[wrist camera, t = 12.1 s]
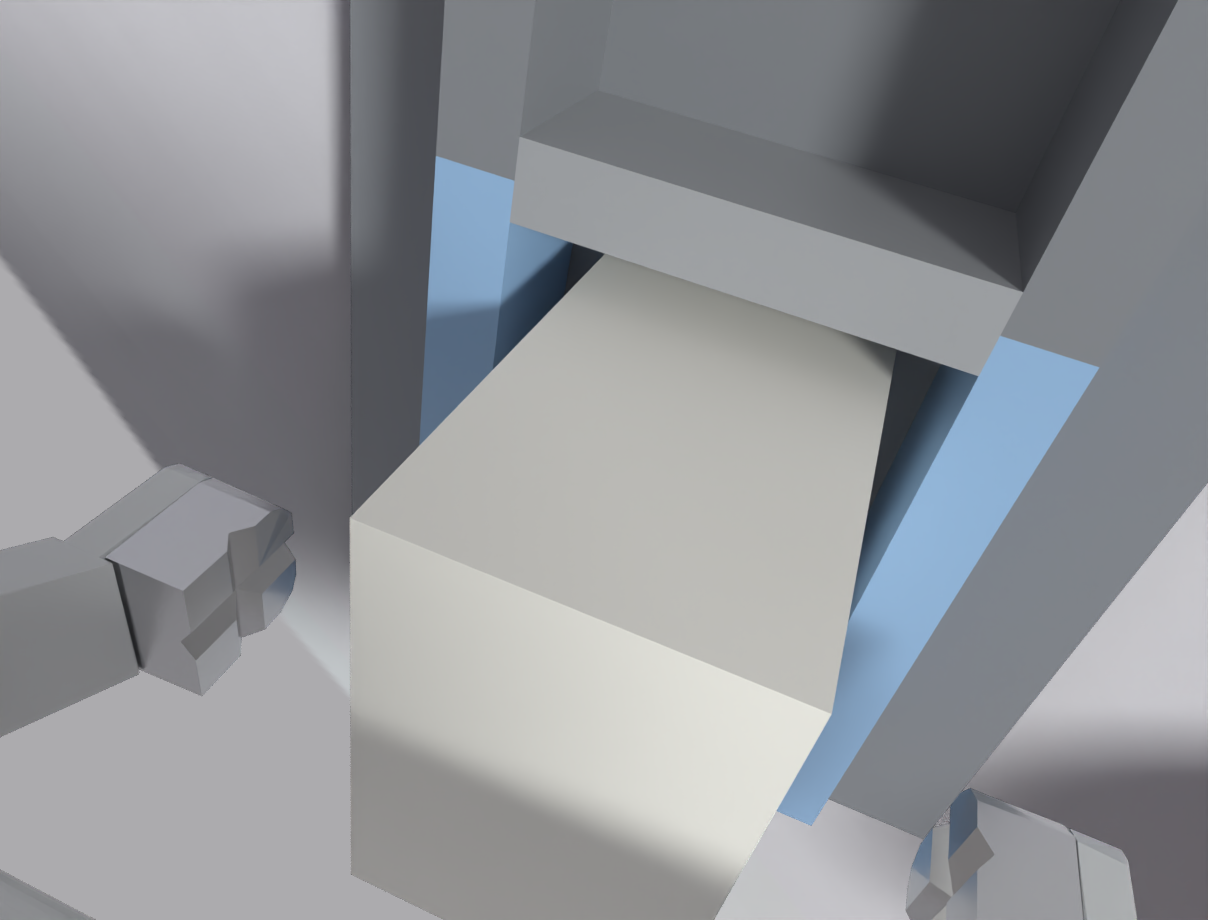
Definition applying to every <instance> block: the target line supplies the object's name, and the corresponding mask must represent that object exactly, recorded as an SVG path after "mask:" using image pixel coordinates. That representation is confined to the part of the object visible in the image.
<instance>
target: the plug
mask: <svg viewBox="0 0 1208 920" xmlns="http://www.w3.org/2000/svg"><path fill="white" fill-rule="evenodd" d="M896 350H897V349H894V348H891V347H888V346H885V345H882V344H879V343H876V342H873V341H870V340H867V339H864V338H861V337H858V336H854V335H851V334H848V333H845V332H842V331H839V330H836V329H833V328H830V327H827V326H824V325H821V324H818V323H815V322H812V321H809V320H806V319H803V318H800V317H797V316H794V315H791V314H787V313H784V312H781V311H778V310H775V309H772V308H769V307H766V306H763V305H760V304H757V303H754V302H751V301H748V300H745V299H742V298H739V297H736V296H733V295H730V294H727V293H723V292H720V291H717V290H714V289H711V288H708V287H705V286H702V285H699V284H696V283H693V282H690V281H687V280H684V279H681V278H678V277H675V276H672V275H669V274H666V273H663V272H660V271H656V270H653V269H650V268H647V267H644V266H641V265H638V264H635V263H632V262H629V261H626V260H623V259H620V258H617V257H614V256H611V255H608V254H604V255H603V256H602V257H601V259H600V260H599V261H598V262H597V263H596V264H595V265H594V266H593V267H592V268H591V269H590V270H589V271H588V272H587V273H586V274H585V275H584V276H583V277H582V278H581V279H580V280H579V281H578V282H577V283H576V284H575V285H574V286H573V287H572V289H571V290H570V291H569V292H568V293H567V294H566V295H565V296H564V297H563V298H562V299H561V300H560V301H559V302H558V303H557V304H556V305H555V306H554V307H553V308H552V309H551V310H550V311H549V312H548V313H547V314H546V315H545V316H544V317H543V319H542V320H541V321H540V322H539V323H538V324H537V325H536V326H535V327H534V328H533V329H532V330H531V331H530V332H529V333H528V334H527V335H526V336H525V337H524V338H523V339H522V340H521V341H520V342H519V343H518V344H517V345H516V346H515V347H514V348H513V350H512V351H511V352H510V353H509V354H508V355H507V356H506V357H505V358H504V359H503V360H502V361H501V362H500V363H499V364H498V365H497V366H496V367H495V368H494V369H493V370H492V371H491V372H490V373H489V374H488V375H487V376H486V377H485V378H484V380H483V381H482V382H481V383H480V384H479V385H478V386H477V387H476V388H475V389H474V390H473V391H472V392H471V393H470V394H469V395H468V396H467V397H466V398H465V399H464V400H463V401H462V402H461V403H460V404H459V405H458V406H457V407H456V408H455V410H454V411H453V412H452V413H451V414H450V415H449V416H448V417H447V418H446V419H445V420H444V421H443V422H442V423H441V424H440V425H439V426H438V427H437V428H436V429H435V430H434V431H433V432H432V433H431V434H430V435H429V436H428V437H427V438H426V439H425V441H424V442H423V443H422V444H421V445H420V446H419V447H418V448H417V449H416V450H415V451H414V452H413V453H412V454H411V455H410V456H409V457H408V458H407V459H406V460H405V461H404V462H403V463H402V464H401V465H400V466H399V467H398V468H397V469H396V471H395V472H394V473H393V474H392V475H391V476H390V477H389V478H388V479H387V480H386V481H385V482H384V483H383V484H382V485H381V486H380V487H379V488H378V489H377V490H376V491H375V492H374V493H373V494H372V495H371V496H370V497H369V498H368V499H367V500H366V502H365V503H364V504H363V505H362V506H361V507H360V508H359V509H358V510H357V511H356V512H355V513H354V514H353V515H352V516H351V517H350V713H351V715H350V716H351V717H350V724H351V725H350V727H351V728H350V731H351V734H350V735H351V875H353V876H355V877H357V878H359V879H361V880H363V881H365V882H367V883H369V884H371V885H373V886H375V887H377V888H380V889H382V890H384V891H386V892H388V893H390V894H392V895H394V896H396V897H398V898H400V899H402V900H404V901H406V902H408V903H410V904H413V905H414V906H417V907H419V908H421V909H423V910H425V911H427V912H429V913H431V914H433V915H435V916H437V917H439V918H441V919H443V920H714V919H715V917H716V915H717V914H718V912H719V910H720V908H721V907H722V905H723V903H724V901H725V900H726V898H727V896H728V894H729V893H730V891H731V889H732V887H733V886H734V884H735V882H736V880H737V879H738V877H739V875H740V873H741V872H742V870H743V868H744V866H745V865H746V863H747V861H748V859H749V858H750V856H751V854H752V852H753V851H754V849H755V847H756V845H757V844H758V842H759V840H760V839H761V837H762V835H763V833H764V832H765V830H766V828H767V826H768V825H769V823H770V821H771V819H772V818H773V816H774V814H775V812H776V811H777V809H778V807H779V805H780V804H781V802H782V800H783V798H784V797H785V795H786V793H787V791H788V790H789V788H790V786H791V784H792V783H793V781H794V779H795V777H796V776H797V774H798V772H799V770H800V769H801V767H802V765H803V763H804V762H805V760H806V758H807V756H808V755H809V753H810V751H811V750H812V748H813V746H814V744H815V743H816V741H817V739H818V737H819V736H820V734H821V732H822V730H823V729H824V727H825V725H826V723H827V722H828V720H829V718H830V716H831V715H832V710H833V704H834V699H835V693H836V687H837V682H838V676H839V671H840V665H841V659H842V654H843V648H844V642H845V637H846V631H847V626H848V620H849V614H850V609H851V603H852V598H853V592H854V586H855V581H856V575H857V569H858V564H859V558H860V553H861V547H862V541H863V536H864V530H865V524H866V519H867V513H868V508H869V502H870V496H871V491H872V485H873V479H874V474H875V468H876V463H877V457H878V451H879V446H880V440H881V434H882V429H883V423H884V418H885V412H886V406H887V401H888V395H889V390H890V384H891V378H892V373H893V367H894V361H895V356H896Z"/></svg>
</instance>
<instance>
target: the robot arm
mask: <svg viewBox="0 0 1208 920" xmlns="http://www.w3.org/2000/svg"><path fill="white" fill-rule="evenodd" d="M293 533H294V530H293V521H292V513H291V512H289V511H287V510H285V509H283V508H281V507H279V506H277V505H274V504H272V503H270V502H268V501H265V500H263V499H261V498H258V497H256V496H254V495H252V494H249V493H247V492H245V491H243V490H240V489H238V488H236V487H234V486H231V485H229V484H227V483H225V482H222V481H220V480H218V479H216V478H213V477H210V476H208V475H206V474H203V473H201V472H199V471H196V470H194V469H192V468H189V467H187V466H185V465H182V464H176V465H172V466H168V467H165V468H163V469H161V470H160V471H159V472H157V473H156V474H155V475H153V476H152V477H151V478H149V479H148V480H146V481H145V482H144V483H142V484H141V485H140V486H138V487H137V488H135V489H134V490H133V491H131V492H130V493H129V494H127V495H126V496H125V497H123V498H122V499H121V500H119V501H118V502H116V503H115V504H114V505H112V506H111V507H110V508H108V509H107V510H106V511H104V512H103V513H101V514H100V515H99V516H97V517H96V518H95V519H93V520H92V521H91V522H89V523H88V524H86V525H85V526H84V527H82V528H81V529H80V530H78V531H77V532H75V533H74V534H73V535H71V536H70V537H69V538H67V539H66V540H64V541H62V540H59V539H57V538H54V537H51V538H47V539H43V540H39V541H35V542H31V543H27V544H23V545H19V546H15V547H11V548H7V549H3V550H0V737H2V736H4V735H6V734H8V733H11V732H12V731H15V730H17V729H19V728H22V727H24V726H26V725H28V724H30V723H32V722H35V721H37V720H39V719H41V718H44V717H46V716H48V715H50V714H52V713H55V712H57V711H59V710H61V709H64V708H66V707H68V706H70V705H72V704H75V703H77V702H79V701H81V700H83V699H86V698H88V697H90V696H92V695H95V694H97V693H99V692H101V691H103V690H106V689H108V688H110V687H112V686H114V685H117V684H119V683H121V682H123V681H125V680H127V679H130V678H132V677H134V676H137V675H138V674H139V673H140V672H139V670H142V671H144V672H146V673H149V674H151V675H153V676H156V677H158V678H160V679H163V680H165V681H167V682H170V683H172V684H174V685H177V686H179V687H182V688H184V689H186V690H189V691H191V692H194V693H196V694H198V695H201V696H203V695H204V694H205V693H206V691H208V690H209V689H210V687H211V686H212V685H213V684H214V683H215V682H216V681H217V680H218V679H219V678H220V677H221V676H222V675H223V674H224V673H225V672H226V670H228V668H229V667H230V666H231V665H232V664H233V663H234V662H235V661H236V660H237V659H238V658H239V657H240V656H241V643H242V637H245V636H247V635H251V634H253V633H256V632H259V631H262V630H265V629H266V628H267V627H268V626H269V625H270V623H271V622H272V621H273V620H274V619H275V618H276V617H277V616H278V615H279V613H280V612H281V611H282V609H283V607H284V605H285V603H286V601H287V600H288V598H289V596H290V594H291V592H292V590H293V585H294V581H295V576H296V560H295V558H294V556H293V555H292V553H291V552H290V550H289V549H288V547H287V546H286V544H285V543H284V542H285V541H286V540H287V539H288V538H289V537H290V536H291V535H292V534H293ZM906 912H907V914H908V916H909V919H910V920H1137V915H1136V909H1135V902H1134V896H1133V889H1132V883H1131V876H1130V870H1129V863H1128V860H1127V858H1126V857H1125V855H1124V853H1123V852H1122V850H1121V849H1119V848H1116V847H1114V846H1111V845H1109V844H1107V843H1104V842H1102V841H1099V840H1097V839H1094V838H1092V837H1089V836H1087V835H1085V834H1082V833H1080V832H1077V831H1075V830H1072V829H1069V828H1066V827H1065V826H1064V825H1062V824H1060V823H1057V822H1055V821H1052V820H1050V819H1047V818H1045V817H1042V816H1040V815H1037V814H1034V813H1032V812H1029V811H1027V810H1024V809H1022V808H1019V807H1017V806H1014V805H1012V804H1009V803H1007V802H1004V801H1002V800H999V799H997V798H994V797H991V796H989V795H986V794H984V793H981V792H979V791H976V790H974V789H971V788H970V789H968V790H965V791H963V792H961V793H960V794H959V796H958V797H957V798H956V799H955V800H954V802H953V803H952V804H951V807H950V823H949V824H945V825H940V826H936V827H933V828H932V829H931V831H930V832H929V833H928V835H927V836H926V837H925V839H924V840H923V842H922V843H921V845H920V847H919V850H918V852H917V855H916V857H915V860H914V862H913V865H912V868H911V873H910V878H909V883H908V888H907V899H906ZM0 920H95V919H93V918H92V917H89V916H88V915H86V914H84V913H82V912H80V911H78V910H76V909H74V908H73V907H71V906H69V905H67V904H65V903H63V902H61V901H59V900H57V899H55V898H54V897H52V896H50V895H48V894H46V893H44V892H42V891H40V890H38V889H36V888H34V887H33V886H31V885H29V884H27V883H25V882H23V881H21V880H19V879H17V878H15V877H14V876H12V875H10V874H8V873H6V872H4V871H2V870H0Z"/></svg>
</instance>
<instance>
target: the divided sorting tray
mask: <svg viewBox="0 0 1208 920" xmlns="http://www.w3.org/2000/svg"><path fill="white" fill-rule="evenodd" d="M350 115H351V395H352V515H353V514H354V513H355V512H356V511H357V510H358V509H359V508H360V507H361V506H362V505H363V504H364V503H365V502H366V500H367V499H368V498H369V497H370V496H371V495H372V494H373V493H374V492H375V491H376V490H377V489H378V488H379V487H380V486H381V485H382V484H383V483H384V482H385V481H386V480H387V479H388V478H389V477H390V476H391V475H392V474H393V473H394V472H395V471H396V469H397V468H398V467H399V466H400V465H401V464H402V463H403V462H404V461H405V460H406V459H407V458H408V457H409V456H410V455H411V454H412V453H413V452H414V451H415V450H416V449H417V448H418V447H419V446H420V445H421V444H422V443H423V442H424V441H425V439H426V438H427V437H428V436H429V435H430V434H431V433H432V432H433V431H434V430H435V429H436V428H437V427H438V426H439V425H440V424H441V423H442V422H443V421H444V420H445V419H446V418H447V417H448V416H449V415H450V414H451V413H452V412H453V411H454V410H455V408H456V407H457V406H458V405H459V404H460V403H461V402H462V401H463V400H464V399H465V398H466V397H467V396H468V395H469V394H470V393H471V392H472V391H473V390H474V389H475V388H476V387H477V386H478V385H479V384H480V383H481V382H482V381H483V380H484V378H485V377H486V376H487V375H488V374H489V373H490V372H491V371H492V370H493V369H494V368H495V367H496V366H497V365H498V364H499V363H500V362H501V361H502V360H503V359H504V358H505V357H506V356H507V355H508V354H509V353H510V352H511V351H512V350H513V348H514V347H515V346H516V345H517V344H518V343H519V342H520V341H521V340H522V339H523V338H524V337H525V336H526V335H527V334H528V333H529V332H530V331H531V330H532V329H533V328H534V327H535V326H536V325H537V324H538V323H539V322H540V321H541V320H542V319H543V317H544V316H545V315H546V314H547V313H548V312H549V311H550V310H551V309H552V308H553V307H554V306H555V305H556V304H557V303H558V302H559V301H560V300H561V299H562V298H563V297H564V296H565V295H566V294H567V293H568V292H569V291H570V290H571V289H572V287H573V286H574V285H575V284H576V283H577V282H578V281H579V280H580V279H581V278H582V277H583V276H584V275H585V274H586V273H587V272H588V271H589V270H590V269H591V268H592V267H593V266H594V265H595V264H596V263H597V262H598V261H599V260H600V259H601V257H602V256H603V255H604V254H608V255H611V256H614V257H617V258H620V259H623V260H626V261H629V262H632V263H635V264H638V265H641V266H644V267H647V268H650V269H653V270H656V271H660V272H663V273H666V274H669V275H672V276H675V277H678V278H681V279H684V280H687V281H690V282H693V283H696V284H699V285H702V286H705V287H708V288H711V289H714V290H717V291H720V292H723V293H727V294H730V295H733V296H736V297H739V298H742V299H745V300H748V301H751V302H754V303H757V304H760V305H763V306H766V307H769V308H772V309H775V310H778V311H781V312H784V313H787V314H791V315H794V316H797V317H800V318H803V319H806V320H809V321H812V322H815V323H818V324H821V325H824V326H827V327H830V328H833V329H836V330H839V331H842V332H845V333H848V334H851V335H854V336H858V337H861V338H864V339H867V340H870V341H873V342H876V343H879V344H882V345H885V346H888V347H891V348H894V349H897V350H896V356H895V361H894V367H893V373H892V378H891V384H890V390H889V395H888V401H887V406H886V412H885V418H884V423H883V429H882V434H881V440H880V446H879V451H878V457H877V463H876V468H875V474H874V479H873V485H872V491H871V496H870V502H869V508H868V513H867V519H866V524H865V530H864V536H863V541H862V547H861V553H860V558H859V564H858V569H857V575H856V581H855V586H854V592H853V598H852V603H851V609H850V614H849V620H848V626H847V631H846V637H845V642H844V648H843V654H842V659H841V665H840V671H839V676H838V682H837V687H836V693H835V699H834V704H833V710H832V715H831V716H830V718H829V720H828V722H827V723H826V725H825V727H824V729H823V730H822V732H821V734H820V736H819V737H818V739H817V741H816V743H815V744H814V746H813V748H812V750H811V751H810V753H809V755H808V756H807V758H806V760H805V762H804V763H803V765H802V767H801V769H800V770H799V772H798V774H797V776H796V777H795V779H794V781H793V783H792V784H791V786H790V788H789V790H788V791H787V793H786V795H785V797H784V798H783V800H782V802H781V804H780V805H779V807H778V809H777V811H778V812H780V813H783V814H785V815H787V816H790V817H792V818H794V819H797V820H799V821H801V822H804V823H806V824H808V825H811V826H812V824H813V822H814V821H815V819H816V818H817V816H818V814H819V813H820V811H821V810H822V808H823V806H824V805H825V803H826V802H827V800H828V799H830V800H832V801H834V802H837V803H839V804H841V805H844V806H846V807H848V808H851V809H853V810H856V811H858V812H860V813H863V814H865V815H867V816H870V817H872V818H874V819H877V820H879V821H882V822H884V823H886V824H889V825H891V826H893V827H896V828H898V829H900V830H903V831H905V832H908V833H910V834H912V835H915V836H917V837H919V838H922V839H924V838H925V836H926V835H927V834H928V833H929V831H930V830H931V829H932V828H933V826H934V825H935V824H936V823H937V821H938V820H939V819H940V818H941V816H942V815H943V814H944V813H945V811H946V810H947V809H948V808H949V806H950V805H951V804H952V803H953V801H954V800H955V799H956V798H957V796H958V795H959V794H960V793H961V791H962V790H963V789H964V788H965V786H966V785H967V784H968V783H969V781H970V780H971V779H972V778H973V776H974V775H975V774H976V773H977V771H978V770H979V769H980V768H981V766H982V765H983V764H984V763H985V761H986V760H987V759H988V758H989V756H990V755H991V754H992V753H993V751H994V750H995V749H996V748H997V746H998V745H999V744H1000V743H1001V741H1002V740H1003V739H1004V737H1005V736H1006V735H1007V734H1008V732H1009V731H1010V730H1011V729H1012V727H1013V726H1014V725H1015V724H1016V722H1017V721H1018V720H1019V719H1020V717H1021V716H1022V715H1023V714H1024V712H1025V711H1026V710H1027V709H1028V707H1029V706H1030V705H1031V704H1032V702H1033V701H1034V700H1035V699H1036V697H1037V696H1038V695H1039V694H1040V692H1041V691H1042V690H1043V689H1044V687H1045V686H1046V685H1047V684H1048V682H1049V681H1050V680H1051V679H1052V677H1053V676H1054V675H1055V674H1056V672H1057V671H1058V670H1059V669H1060V667H1061V666H1062V665H1063V664H1064V662H1065V661H1066V660H1067V659H1068V657H1069V656H1070V655H1071V654H1072V652H1073V651H1074V650H1075V649H1076V647H1077V646H1078V645H1079V644H1080V642H1081V641H1082V640H1083V638H1084V637H1085V636H1086V635H1087V633H1088V632H1089V631H1090V630H1091V628H1092V627H1093V626H1094V625H1095V623H1096V622H1097V621H1098V620H1099V618H1100V617H1101V616H1102V615H1103V613H1104V612H1105V611H1106V610H1107V608H1108V607H1109V606H1110V605H1111V603H1112V602H1113V601H1114V600H1115V598H1116V597H1117V596H1118V595H1119V593H1120V592H1121V591H1122V590H1123V588H1124V587H1125V586H1126V585H1127V583H1128V582H1129V581H1130V580H1131V578H1132V577H1133V576H1134V575H1135V573H1136V572H1137V571H1138V570H1139V568H1140V567H1141V566H1142V565H1143V563H1144V562H1145V561H1146V560H1147V558H1148V557H1149V556H1150V555H1151V553H1152V552H1153V551H1154V550H1155V548H1156V547H1157V546H1158V545H1159V543H1160V542H1161V541H1162V540H1163V538H1164V537H1165V536H1166V534H1167V533H1168V532H1169V531H1170V529H1171V528H1172V527H1173V526H1174V524H1175V523H1176V522H1177V521H1178V519H1179V518H1180V517H1181V516H1182V514H1183V513H1184V512H1185V511H1186V509H1187V508H1188V507H1189V506H1190V504H1191V503H1192V502H1193V501H1194V499H1195V498H1196V497H1197V496H1198V494H1199V493H1200V492H1201V491H1202V489H1203V488H1204V487H1205V486H1206V484H1207V483H1208V0H350Z"/></svg>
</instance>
